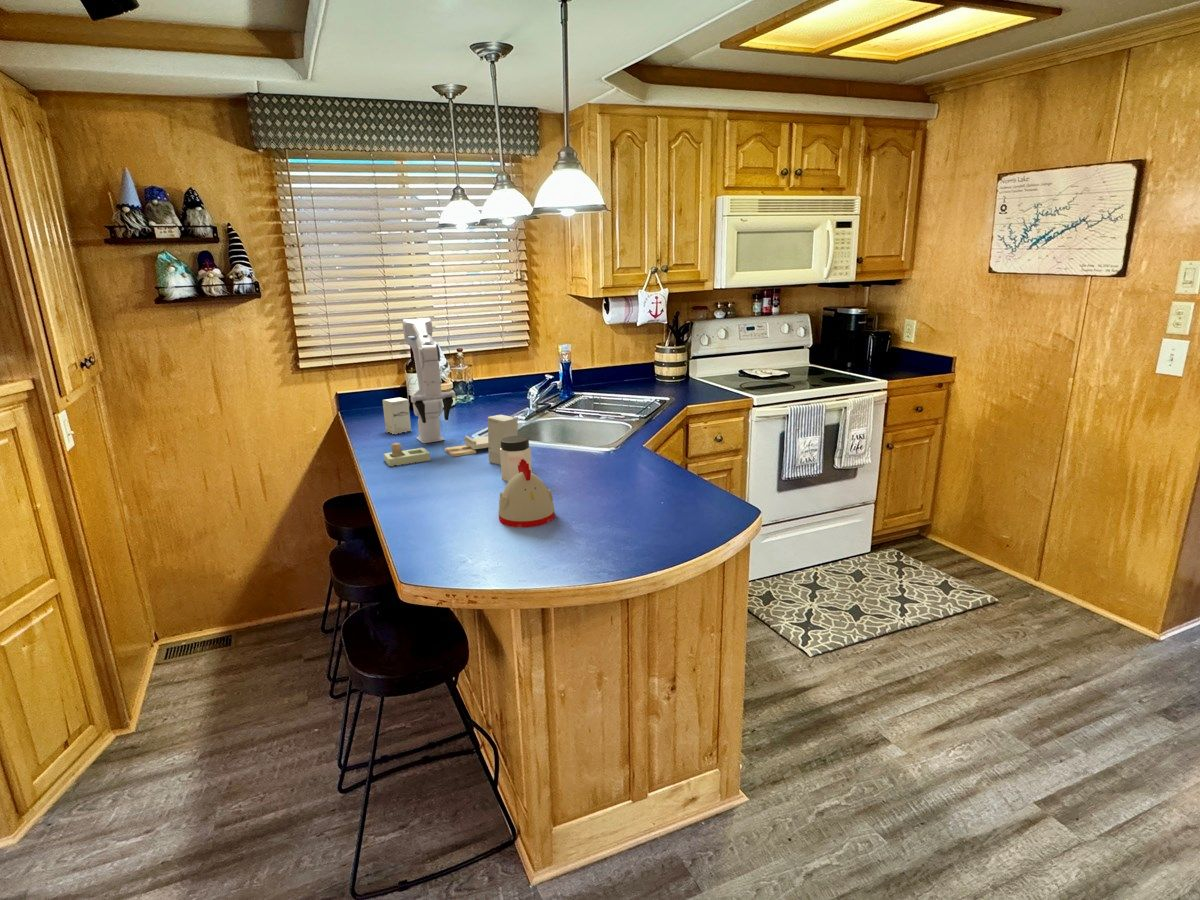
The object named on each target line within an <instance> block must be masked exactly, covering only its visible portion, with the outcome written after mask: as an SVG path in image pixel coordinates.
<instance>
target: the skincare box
mask: <svg viewBox="0 0 1200 900" xmlns="http://www.w3.org/2000/svg"><path fill="white" fill-rule="evenodd" d="M518 422H519V421H518V418H517V417H513V416H510V415H505V414H496V415H489V416H488V417H487V437H488V447H487V448H488V462H489V463H491V464H496V465H500V466H501V460H500V449H501V439H503V438H505V437H510V436H519V435H518V434H519V433H518V431H519V430H518V429H519V428H518Z"/></svg>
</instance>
